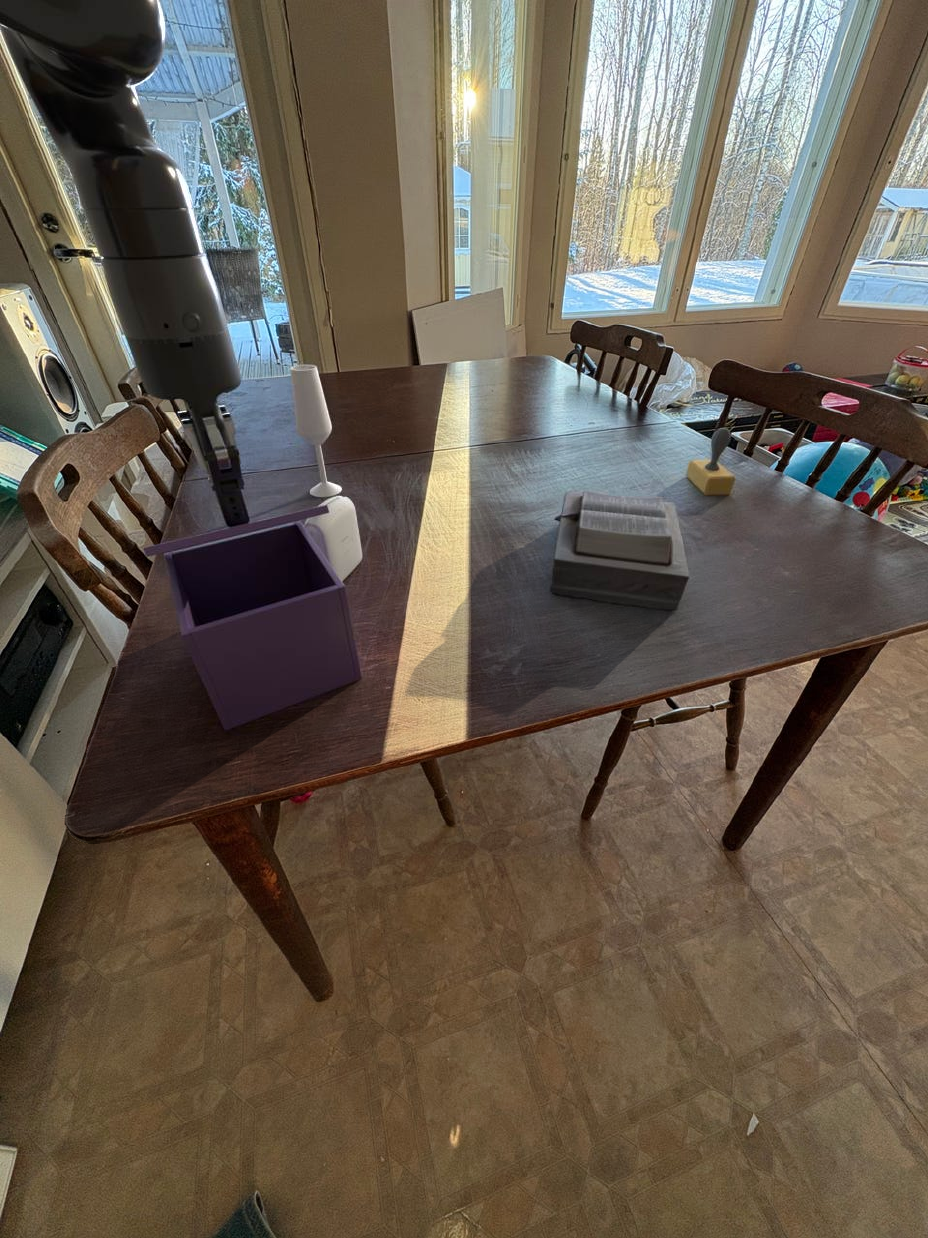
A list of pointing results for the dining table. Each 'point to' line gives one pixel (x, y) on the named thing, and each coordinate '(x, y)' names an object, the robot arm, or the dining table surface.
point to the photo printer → (337, 535)
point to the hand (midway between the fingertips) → (237, 522)
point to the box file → (263, 621)
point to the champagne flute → (312, 419)
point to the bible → (619, 550)
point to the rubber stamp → (712, 468)
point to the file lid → (234, 531)
